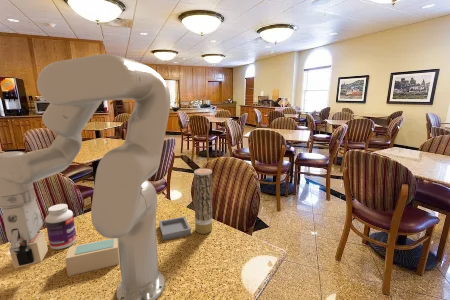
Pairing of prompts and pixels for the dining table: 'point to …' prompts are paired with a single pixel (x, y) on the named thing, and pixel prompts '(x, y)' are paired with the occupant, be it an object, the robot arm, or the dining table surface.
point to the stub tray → (174, 228)
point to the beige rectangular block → (92, 256)
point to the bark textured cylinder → (203, 200)
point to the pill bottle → (60, 226)
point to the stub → (33, 249)
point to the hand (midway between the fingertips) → (31, 255)
